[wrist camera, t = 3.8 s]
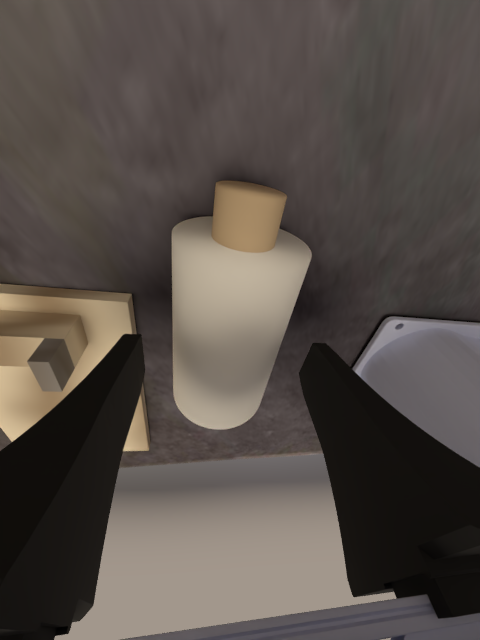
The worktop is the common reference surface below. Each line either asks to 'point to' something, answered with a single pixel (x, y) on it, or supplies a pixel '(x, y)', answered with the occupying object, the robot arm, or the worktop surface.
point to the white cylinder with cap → (232, 302)
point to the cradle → (58, 351)
